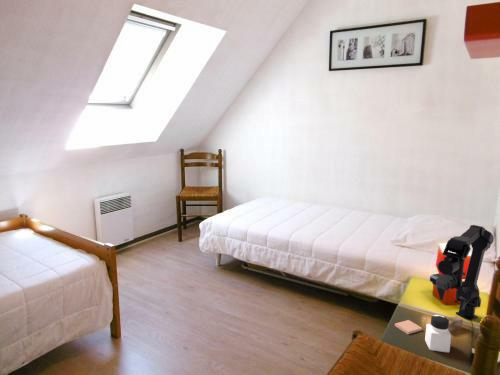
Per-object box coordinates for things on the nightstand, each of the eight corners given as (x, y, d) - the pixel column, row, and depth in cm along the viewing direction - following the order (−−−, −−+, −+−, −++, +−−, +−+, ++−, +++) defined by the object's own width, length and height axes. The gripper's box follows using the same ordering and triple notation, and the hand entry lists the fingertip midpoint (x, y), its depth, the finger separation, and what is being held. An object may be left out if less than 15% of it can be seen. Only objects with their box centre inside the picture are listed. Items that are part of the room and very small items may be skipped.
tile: (408, 319, 159) (394, 323, 156) (422, 327, 153) (408, 331, 150) (408, 323, 160) (394, 327, 156) (421, 331, 153) (407, 335, 150)
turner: (453, 323, 160) (454, 315, 159) (464, 329, 155) (465, 320, 154) (427, 330, 153) (428, 321, 152) (437, 337, 149) (438, 327, 148)
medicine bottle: (449, 353, 138) (453, 323, 136) (429, 350, 139) (432, 320, 137) (443, 342, 145) (447, 314, 143) (424, 339, 146) (427, 311, 144)
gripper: (422, 263, 156) (418, 298, 158) (463, 280, 139) (458, 319, 141) (440, 260, 160) (436, 294, 163) (482, 276, 144) (477, 313, 146)
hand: (451, 304), depth 153 cm, fingers open, 9 cm apart
